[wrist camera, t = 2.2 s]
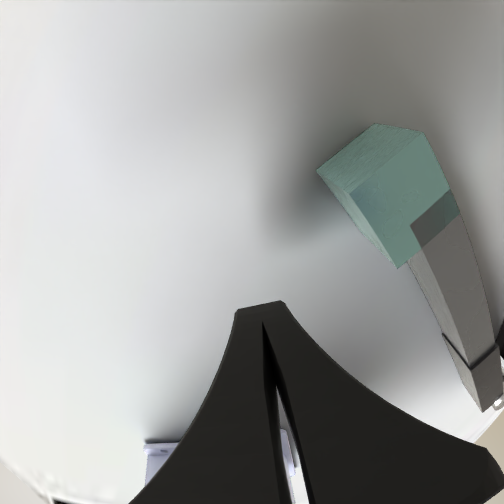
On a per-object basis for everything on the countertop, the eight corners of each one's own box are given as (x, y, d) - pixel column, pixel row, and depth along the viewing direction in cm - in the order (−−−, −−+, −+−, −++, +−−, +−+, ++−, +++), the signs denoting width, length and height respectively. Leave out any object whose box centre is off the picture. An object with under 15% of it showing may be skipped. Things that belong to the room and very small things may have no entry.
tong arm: (497, 366, 18) (518, 393, 15) (457, 399, 19) (476, 429, 16) (402, 101, 9) (463, 106, 6) (315, 170, 10) (355, 198, 7)
